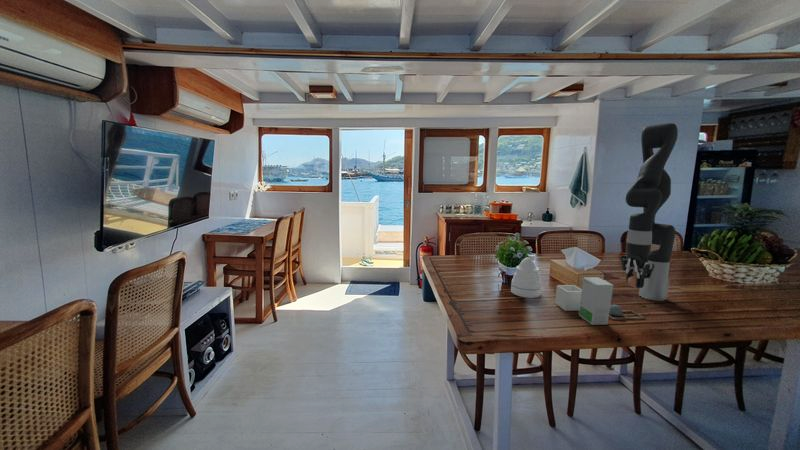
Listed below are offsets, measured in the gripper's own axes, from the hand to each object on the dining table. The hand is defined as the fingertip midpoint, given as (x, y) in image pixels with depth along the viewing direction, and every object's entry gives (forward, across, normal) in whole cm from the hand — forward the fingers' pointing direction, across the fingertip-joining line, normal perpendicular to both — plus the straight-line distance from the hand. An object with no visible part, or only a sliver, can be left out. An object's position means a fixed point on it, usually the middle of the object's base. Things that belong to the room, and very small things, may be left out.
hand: (634, 285), depth 124 cm
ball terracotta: (+1, 0, 0) cm, 1 cm away
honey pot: (+12, +26, +30) cm, 42 cm away
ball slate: (+12, 0, +7) cm, 14 cm away
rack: (+12, 0, +4) cm, 13 cm away
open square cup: (+12, +9, +20) cm, 25 cm away
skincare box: (+12, -4, +18) cm, 22 cm away
